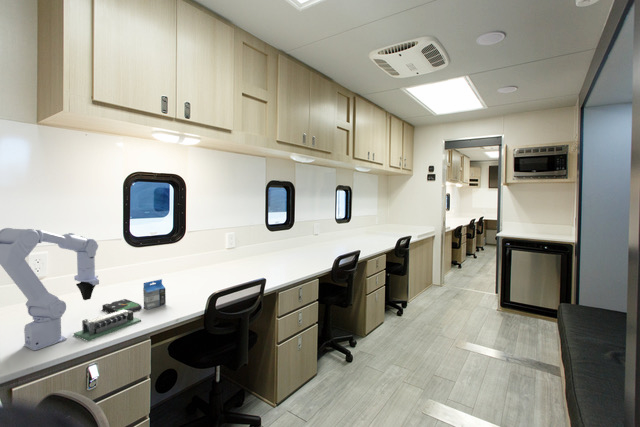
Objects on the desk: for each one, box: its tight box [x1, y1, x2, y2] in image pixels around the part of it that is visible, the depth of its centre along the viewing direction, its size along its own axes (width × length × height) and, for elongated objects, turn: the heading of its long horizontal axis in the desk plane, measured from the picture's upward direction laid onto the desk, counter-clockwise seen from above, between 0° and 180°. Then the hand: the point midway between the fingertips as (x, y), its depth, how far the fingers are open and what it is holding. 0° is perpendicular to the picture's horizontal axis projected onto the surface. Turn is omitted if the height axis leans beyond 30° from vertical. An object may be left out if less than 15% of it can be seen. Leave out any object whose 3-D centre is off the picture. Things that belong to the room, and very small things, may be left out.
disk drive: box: [102, 298, 143, 314], centre depth 140 cm, size 10×3×15 cm
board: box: [73, 310, 142, 342], centre depth 121 cm, size 20×10×4 cm, turn 154°
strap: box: [84, 309, 128, 325], centre depth 120 cm, size 15×3×2 cm, turn 154°
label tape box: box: [142, 278, 167, 310], centre depth 145 cm, size 9×4×12 cm, turn 143°
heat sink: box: [81, 314, 127, 336], centre depth 119 cm, size 13×7×5 cm, turn 154°
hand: (86, 299), depth 124 cm, fingers closed
